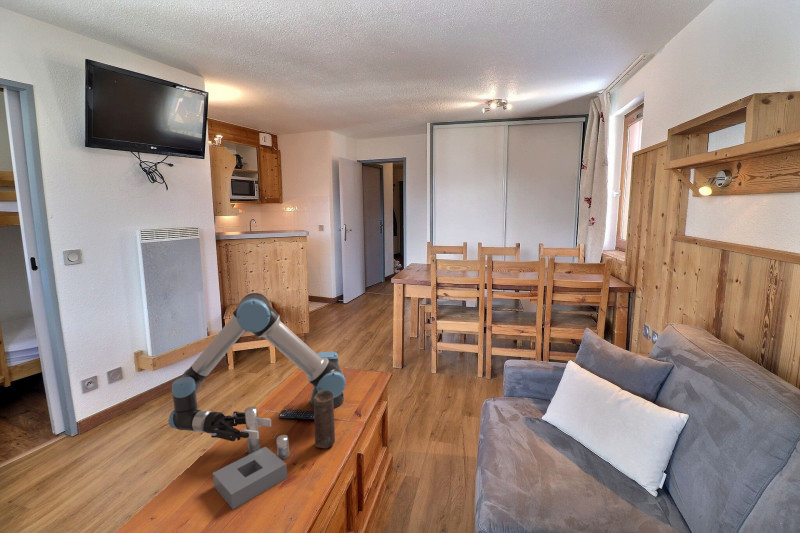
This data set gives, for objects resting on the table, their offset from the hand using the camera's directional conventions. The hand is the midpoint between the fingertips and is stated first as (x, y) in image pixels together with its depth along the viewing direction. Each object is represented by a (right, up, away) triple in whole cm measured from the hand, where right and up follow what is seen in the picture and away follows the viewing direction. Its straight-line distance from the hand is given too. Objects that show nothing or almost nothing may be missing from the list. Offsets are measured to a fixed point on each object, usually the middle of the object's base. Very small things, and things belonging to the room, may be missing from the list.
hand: (264, 428), depth 136 cm
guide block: (0, -12, -13) cm, 17 cm away
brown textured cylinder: (+21, -9, +6) cm, 23 cm away
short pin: (+7, -10, 0) cm, 12 cm away
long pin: (-5, -10, +3) cm, 11 cm away
